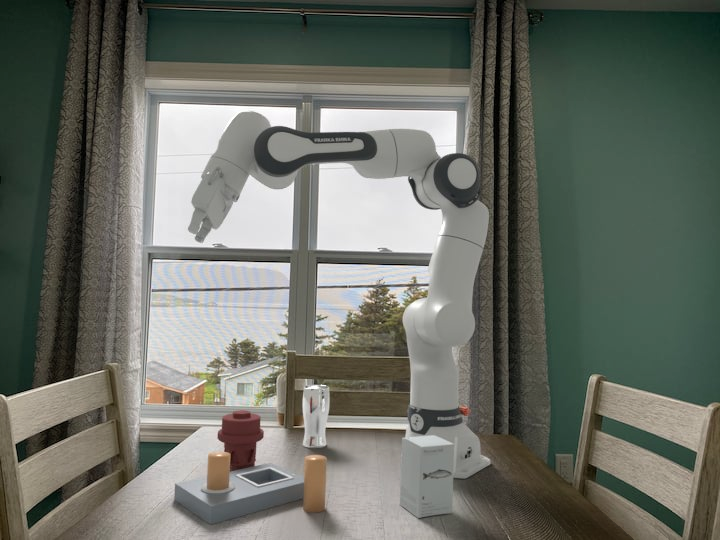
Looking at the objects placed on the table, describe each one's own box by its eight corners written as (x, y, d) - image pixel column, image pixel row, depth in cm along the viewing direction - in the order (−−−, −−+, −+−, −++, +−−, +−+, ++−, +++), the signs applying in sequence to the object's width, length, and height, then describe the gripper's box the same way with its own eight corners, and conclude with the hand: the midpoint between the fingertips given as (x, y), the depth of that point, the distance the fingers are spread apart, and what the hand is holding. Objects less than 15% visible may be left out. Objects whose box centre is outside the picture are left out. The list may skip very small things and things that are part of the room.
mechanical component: (268, 463, 125) (251, 477, 115) (228, 459, 127) (207, 473, 117) (271, 409, 126) (254, 418, 116) (230, 406, 128) (210, 414, 118)
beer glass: (326, 449, 138) (329, 389, 139) (299, 448, 138) (301, 388, 139) (328, 442, 145) (330, 385, 146) (302, 441, 145) (304, 384, 146)
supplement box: (418, 519, 97) (420, 446, 97) (398, 504, 103) (400, 436, 104) (453, 514, 99) (455, 443, 100) (432, 499, 106) (434, 433, 107)
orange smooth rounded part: (315, 502, 103) (317, 453, 103) (329, 508, 100) (331, 458, 100) (298, 507, 100) (300, 457, 101) (312, 514, 97) (313, 462, 98)
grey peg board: (269, 477, 116) (271, 434, 116) (310, 496, 106) (312, 449, 106) (174, 499, 102) (176, 450, 102) (210, 524, 92) (212, 469, 92)
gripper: (233, 170, 107) (202, 233, 105) (240, 198, 127) (214, 251, 125) (203, 156, 107) (171, 219, 104) (214, 187, 127) (188, 240, 124)
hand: (195, 237), depth 115 cm, fingers open, 8 cm apart
